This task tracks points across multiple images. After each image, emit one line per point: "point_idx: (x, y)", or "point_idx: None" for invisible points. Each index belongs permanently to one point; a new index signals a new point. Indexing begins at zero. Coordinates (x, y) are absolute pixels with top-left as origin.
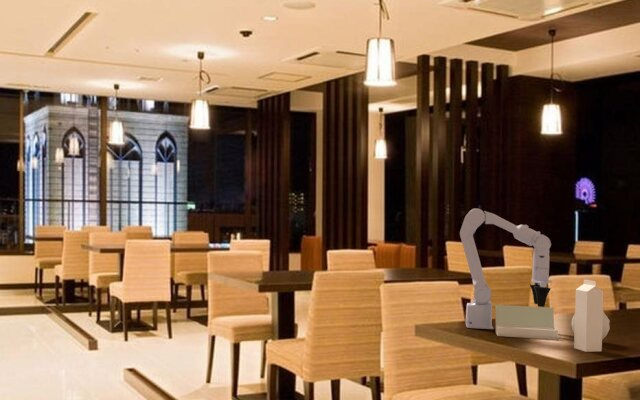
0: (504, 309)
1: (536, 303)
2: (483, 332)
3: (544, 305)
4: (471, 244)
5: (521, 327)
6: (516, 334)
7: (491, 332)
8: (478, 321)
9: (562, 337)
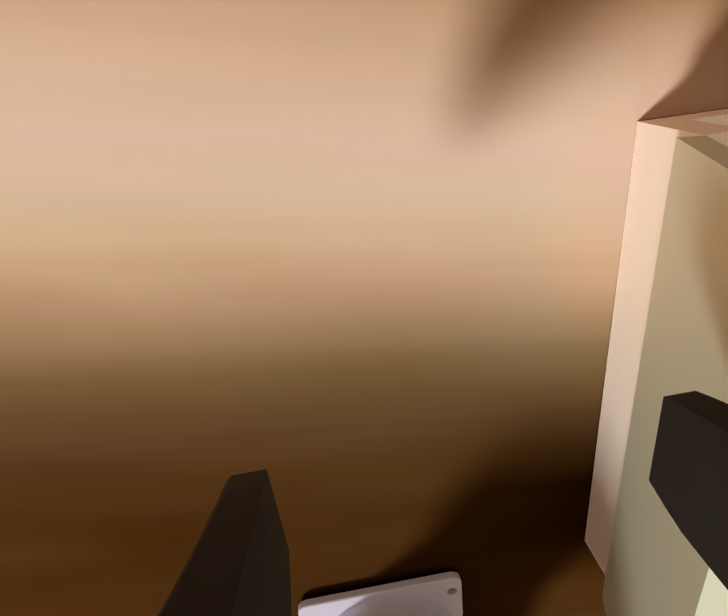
0: None
1: (283, 537)
2: (591, 590)
3: (723, 402)
4: None
5: None
6: None
7: (576, 559)
8: None
9: (707, 22)
